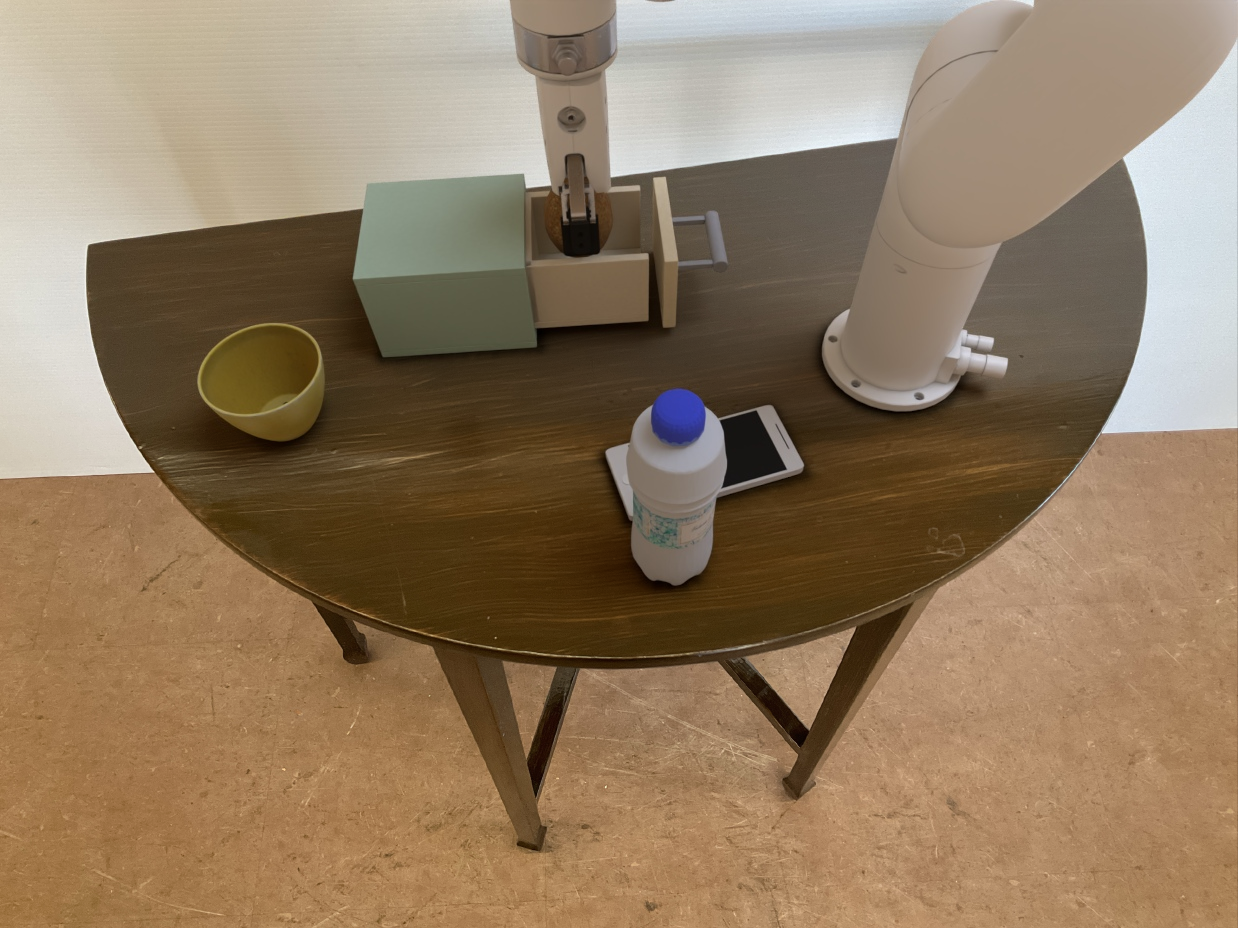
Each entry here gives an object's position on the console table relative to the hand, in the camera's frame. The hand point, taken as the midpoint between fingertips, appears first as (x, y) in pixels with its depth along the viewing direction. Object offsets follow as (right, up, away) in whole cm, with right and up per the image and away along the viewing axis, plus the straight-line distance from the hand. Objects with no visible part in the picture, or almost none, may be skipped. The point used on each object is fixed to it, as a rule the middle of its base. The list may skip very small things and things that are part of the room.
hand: (580, 225), depth 77 cm
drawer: (+4, -4, +7) cm, 9 cm away
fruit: (0, -2, +3) cm, 3 cm away
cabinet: (-12, -6, +7) cm, 15 cm away
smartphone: (+11, -22, -4) cm, 24 cm away
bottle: (+8, -29, -9) cm, 31 cm away
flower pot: (-26, -18, 0) cm, 32 cm away
